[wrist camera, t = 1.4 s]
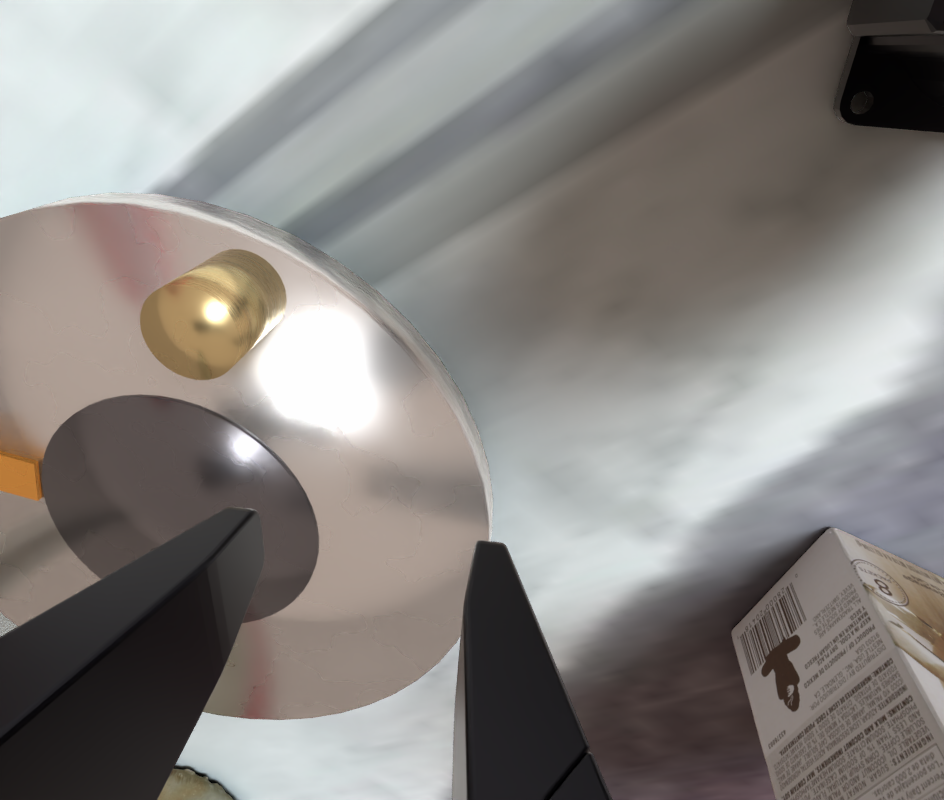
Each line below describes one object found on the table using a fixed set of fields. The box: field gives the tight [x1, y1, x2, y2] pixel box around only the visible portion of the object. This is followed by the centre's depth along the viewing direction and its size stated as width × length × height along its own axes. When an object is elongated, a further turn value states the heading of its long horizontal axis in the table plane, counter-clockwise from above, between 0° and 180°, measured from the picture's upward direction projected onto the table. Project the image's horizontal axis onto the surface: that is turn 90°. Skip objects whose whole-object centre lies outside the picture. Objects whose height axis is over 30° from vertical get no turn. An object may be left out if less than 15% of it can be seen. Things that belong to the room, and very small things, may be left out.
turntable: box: [0, 193, 493, 720], centre depth 22 cm, size 21×21×5 cm
